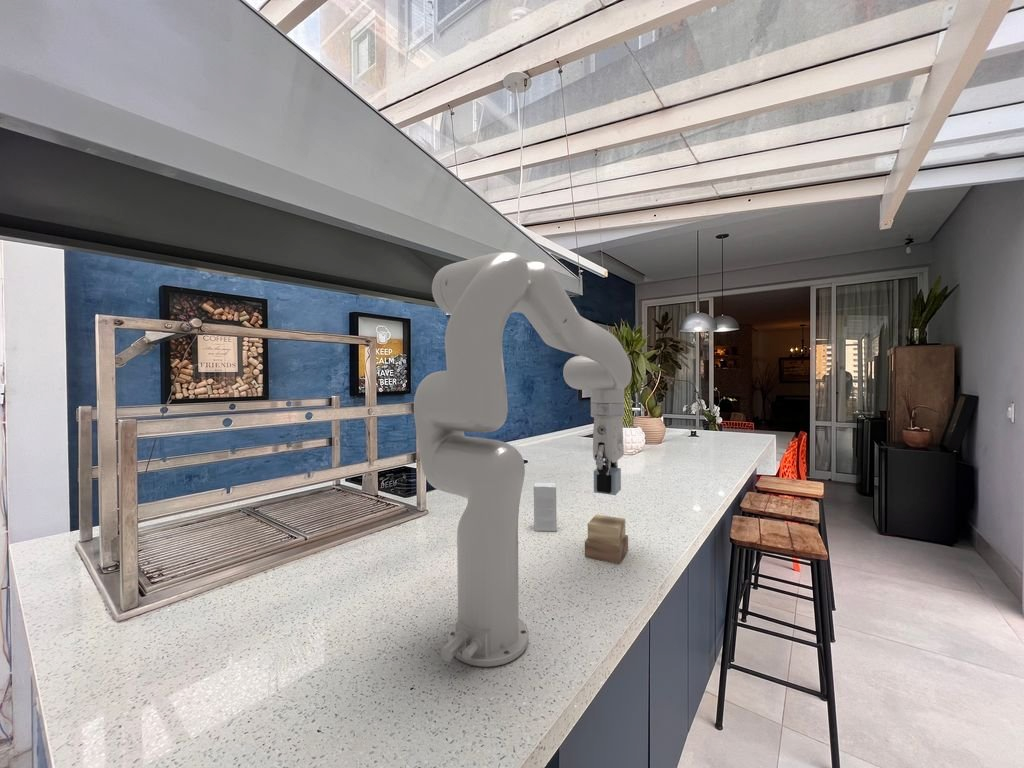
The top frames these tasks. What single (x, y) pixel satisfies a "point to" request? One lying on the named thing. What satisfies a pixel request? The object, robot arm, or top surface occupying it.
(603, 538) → the tower top
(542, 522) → the skincare box
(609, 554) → the tower base
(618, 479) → the cube
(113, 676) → the top surface
